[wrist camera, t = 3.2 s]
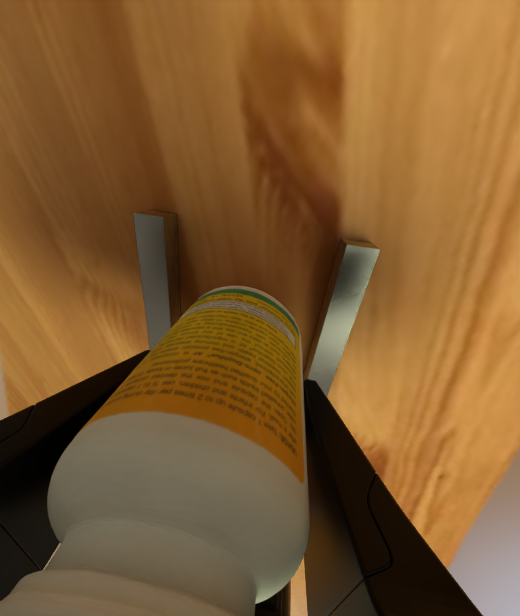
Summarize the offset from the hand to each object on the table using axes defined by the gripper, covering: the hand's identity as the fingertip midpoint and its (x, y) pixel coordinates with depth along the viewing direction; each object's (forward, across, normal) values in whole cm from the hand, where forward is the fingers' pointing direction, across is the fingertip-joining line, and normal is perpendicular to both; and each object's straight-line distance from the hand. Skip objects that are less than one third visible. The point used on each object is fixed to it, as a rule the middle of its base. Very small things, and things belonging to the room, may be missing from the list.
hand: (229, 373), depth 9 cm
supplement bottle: (+3, 0, 0) cm, 3 cm away
